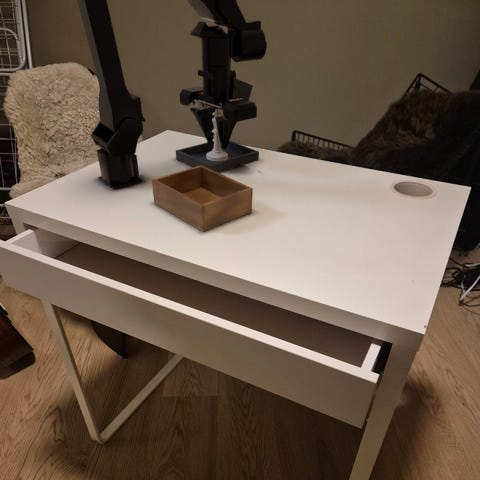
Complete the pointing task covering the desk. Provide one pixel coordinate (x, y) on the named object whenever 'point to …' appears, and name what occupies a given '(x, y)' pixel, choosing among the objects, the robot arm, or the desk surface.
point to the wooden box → (202, 197)
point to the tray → (236, 158)
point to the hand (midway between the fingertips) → (217, 146)
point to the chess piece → (216, 144)
